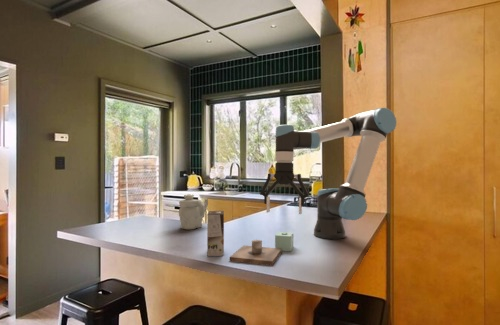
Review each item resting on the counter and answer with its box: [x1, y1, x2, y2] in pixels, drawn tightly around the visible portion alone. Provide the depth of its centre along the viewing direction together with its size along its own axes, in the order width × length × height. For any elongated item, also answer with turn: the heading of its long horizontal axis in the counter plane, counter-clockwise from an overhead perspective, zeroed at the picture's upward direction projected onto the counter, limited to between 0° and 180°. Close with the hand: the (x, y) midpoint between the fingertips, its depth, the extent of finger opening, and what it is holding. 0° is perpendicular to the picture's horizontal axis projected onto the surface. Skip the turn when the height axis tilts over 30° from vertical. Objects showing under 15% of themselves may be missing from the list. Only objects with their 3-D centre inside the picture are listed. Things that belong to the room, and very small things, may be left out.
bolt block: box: [229, 239, 283, 267], centre depth 114 cm, size 16×16×6 cm
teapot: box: [178, 193, 209, 230], centre depth 167 cm, size 16×15×19 cm
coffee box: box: [206, 210, 225, 257], centre depth 119 cm, size 9×6×16 cm
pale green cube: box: [274, 231, 294, 252], centre depth 125 cm, size 6×6×6 cm
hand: (283, 213), depth 125 cm, fingers open, 13 cm apart
